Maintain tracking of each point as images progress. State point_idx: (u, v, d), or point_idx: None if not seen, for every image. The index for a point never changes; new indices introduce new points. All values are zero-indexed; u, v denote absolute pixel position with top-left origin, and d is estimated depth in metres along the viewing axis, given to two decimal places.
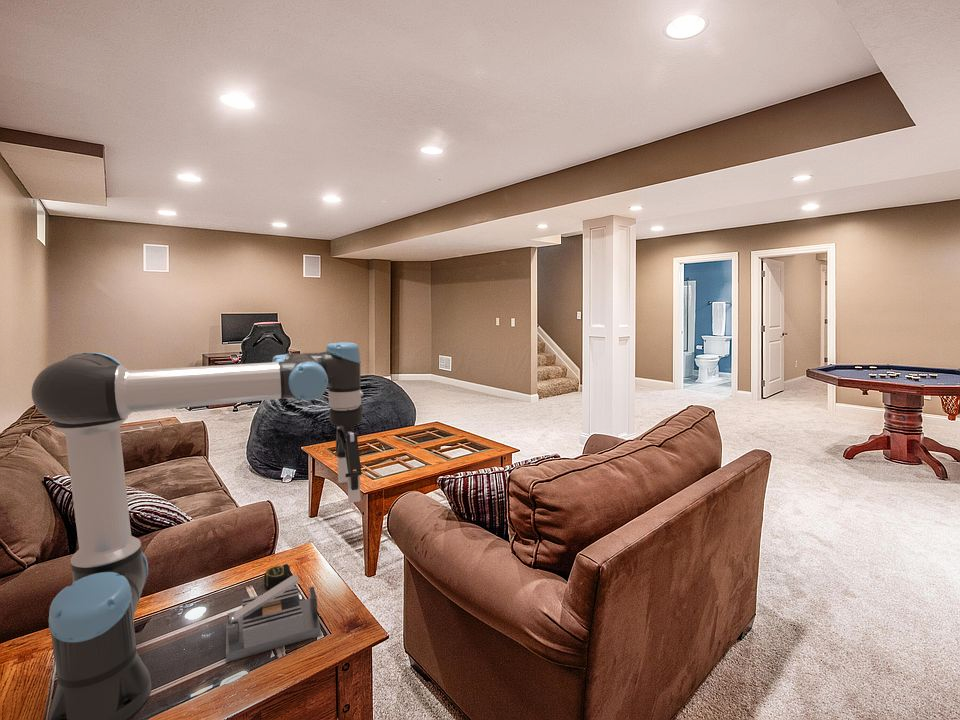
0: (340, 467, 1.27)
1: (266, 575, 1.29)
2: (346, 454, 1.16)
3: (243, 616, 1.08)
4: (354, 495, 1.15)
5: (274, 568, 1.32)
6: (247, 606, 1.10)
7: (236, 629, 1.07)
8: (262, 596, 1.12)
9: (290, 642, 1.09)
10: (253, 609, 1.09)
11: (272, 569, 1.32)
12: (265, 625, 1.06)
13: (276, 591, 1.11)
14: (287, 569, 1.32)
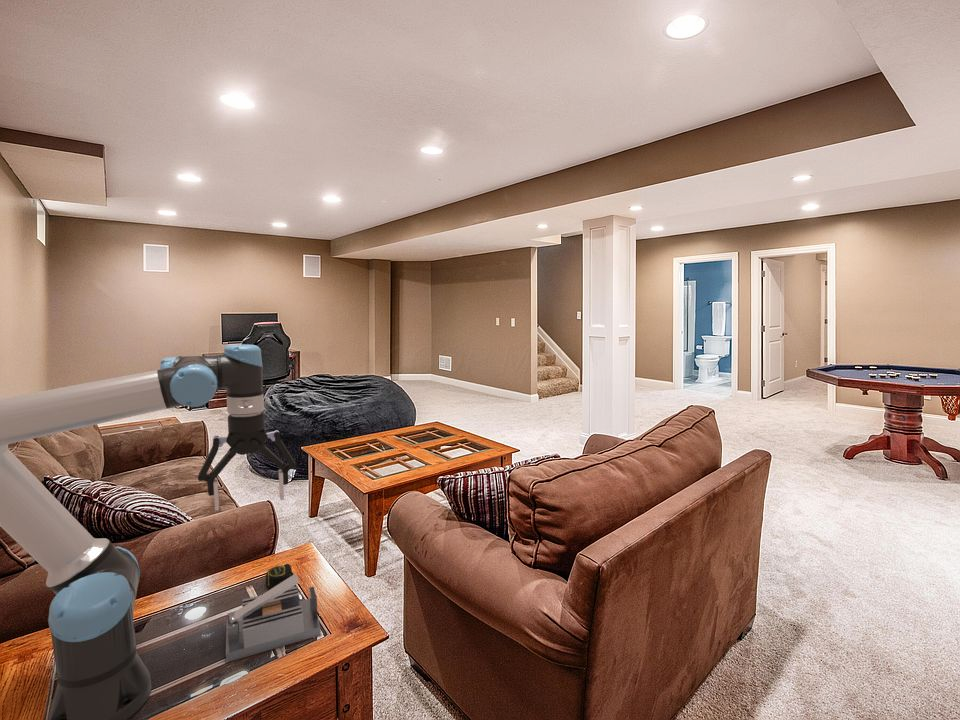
0: None
1: (267, 575, 1.29)
2: (222, 458, 1.12)
3: (243, 616, 1.08)
4: None
5: (275, 568, 1.33)
6: (247, 606, 1.10)
7: (236, 629, 1.07)
8: (262, 596, 1.12)
9: (290, 642, 1.09)
10: (253, 609, 1.09)
11: (273, 569, 1.32)
12: (265, 625, 1.06)
13: (276, 591, 1.11)
14: (288, 569, 1.32)
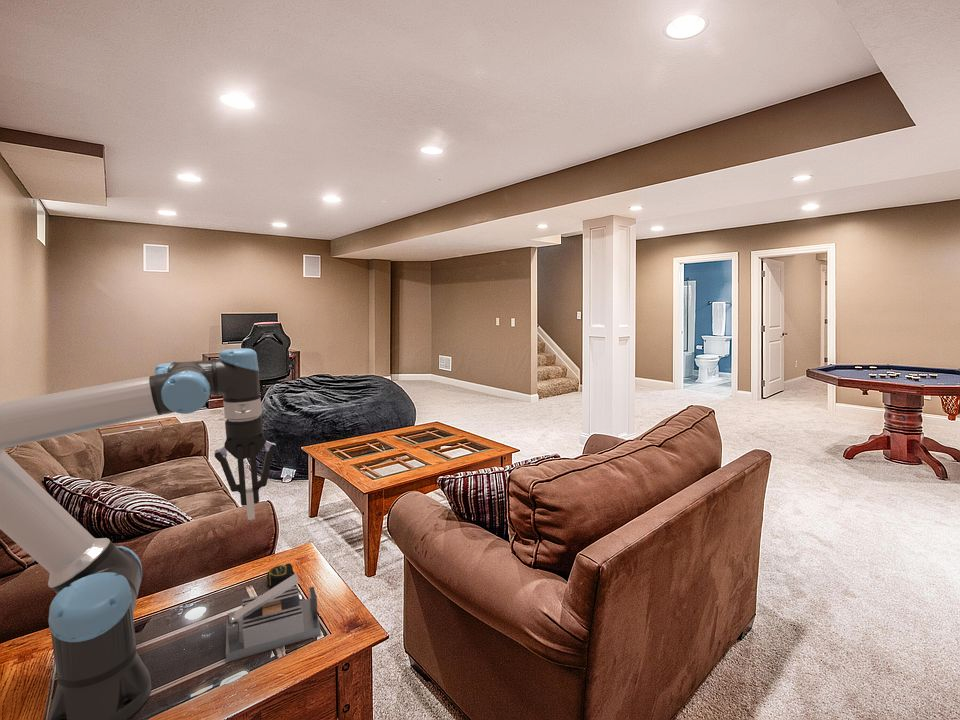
0: None
1: (269, 574, 1.30)
2: None
3: (243, 616, 1.08)
4: None
5: (277, 567, 1.33)
6: (247, 606, 1.10)
7: (236, 629, 1.07)
8: (262, 596, 1.12)
9: (290, 642, 1.09)
10: (253, 609, 1.09)
11: (275, 568, 1.32)
12: (265, 625, 1.06)
13: (276, 591, 1.11)
14: (290, 568, 1.32)
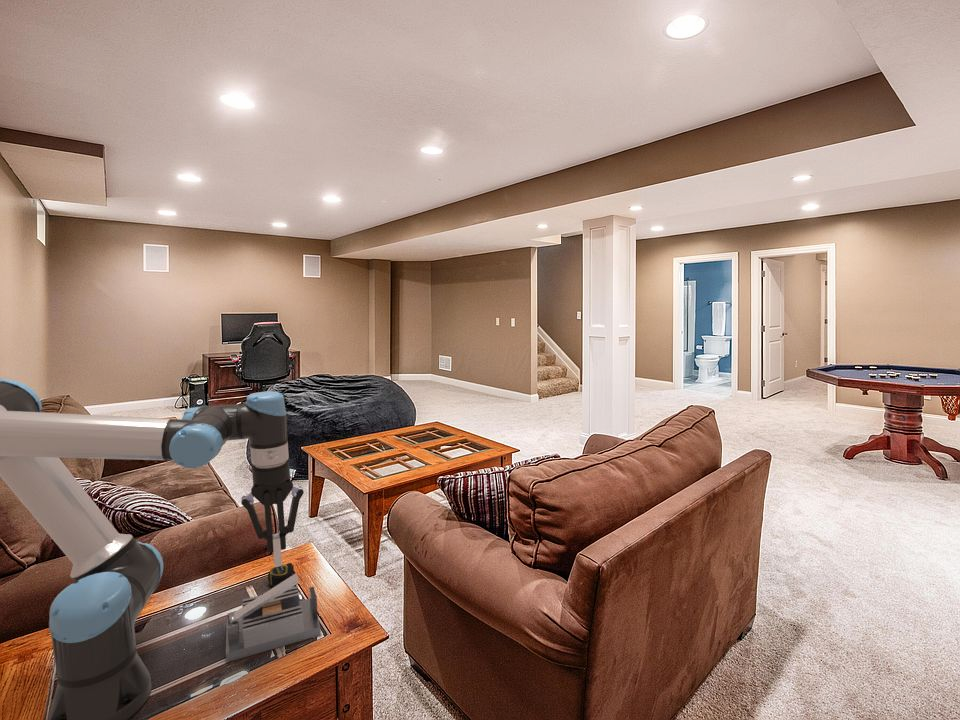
0: None
1: (270, 574, 1.30)
2: None
3: (243, 616, 1.08)
4: None
5: (278, 567, 1.33)
6: (247, 606, 1.10)
7: (236, 629, 1.07)
8: (262, 596, 1.12)
9: (290, 642, 1.09)
10: (253, 609, 1.09)
11: (276, 568, 1.33)
12: (265, 625, 1.06)
13: (276, 591, 1.11)
14: (291, 568, 1.33)
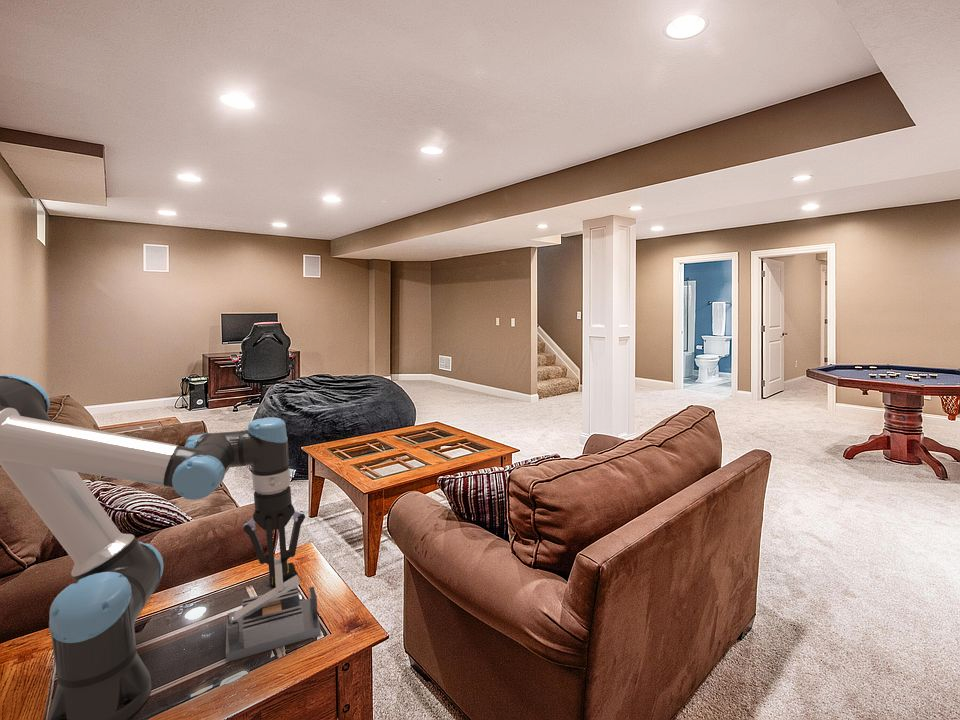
0: None
1: None
2: None
3: (243, 616, 1.08)
4: (275, 581, 1.12)
5: None
6: (247, 606, 1.10)
7: (236, 629, 1.07)
8: (263, 597, 1.12)
9: (290, 642, 1.09)
10: (253, 610, 1.09)
11: None
12: (265, 625, 1.06)
13: (277, 592, 1.11)
14: (292, 567, 1.33)
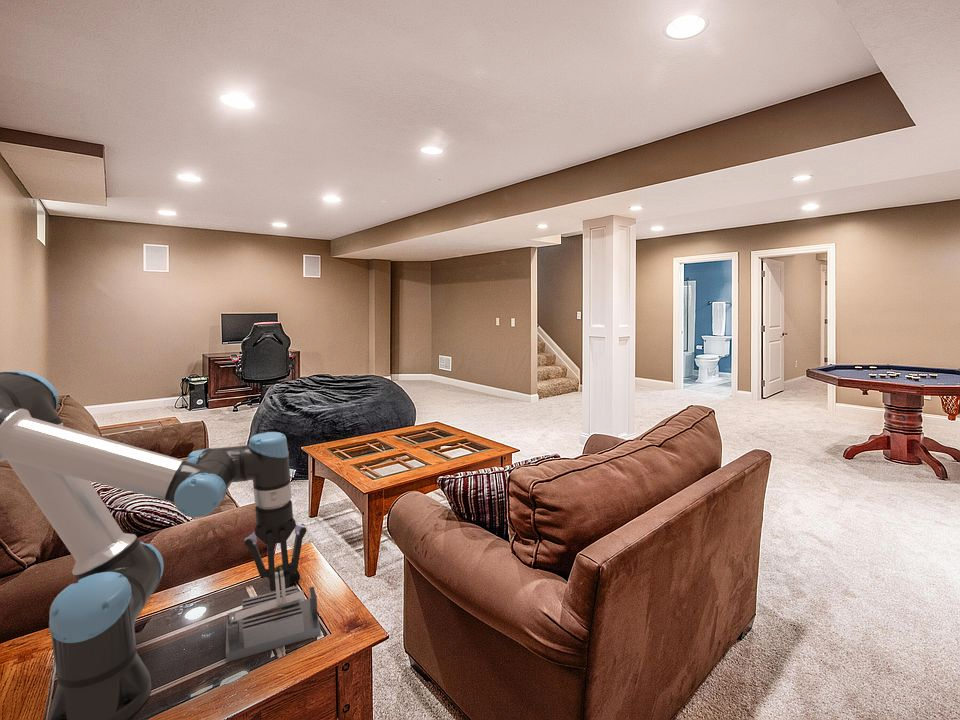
0: None
1: None
2: None
3: (244, 619, 1.08)
4: None
5: (281, 566, 1.34)
6: (249, 610, 1.11)
7: (236, 629, 1.07)
8: (266, 604, 1.12)
9: (290, 642, 1.09)
10: (255, 615, 1.09)
11: (279, 567, 1.33)
12: (265, 625, 1.06)
13: (281, 603, 1.12)
14: None
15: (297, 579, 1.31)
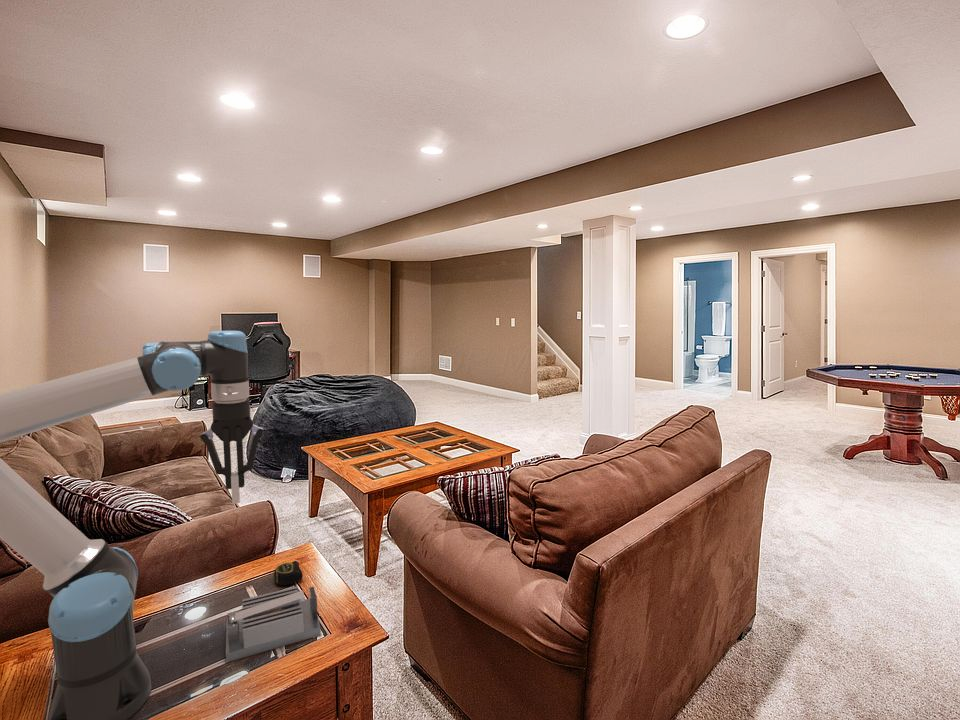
0: None
1: (276, 572, 1.31)
2: None
3: (244, 619, 1.08)
4: None
5: (284, 565, 1.34)
6: (249, 610, 1.11)
7: (236, 629, 1.07)
8: (266, 604, 1.12)
9: (290, 642, 1.09)
10: (255, 615, 1.09)
11: (282, 566, 1.34)
12: (265, 625, 1.06)
13: (281, 603, 1.12)
14: (296, 566, 1.34)
15: (300, 578, 1.31)
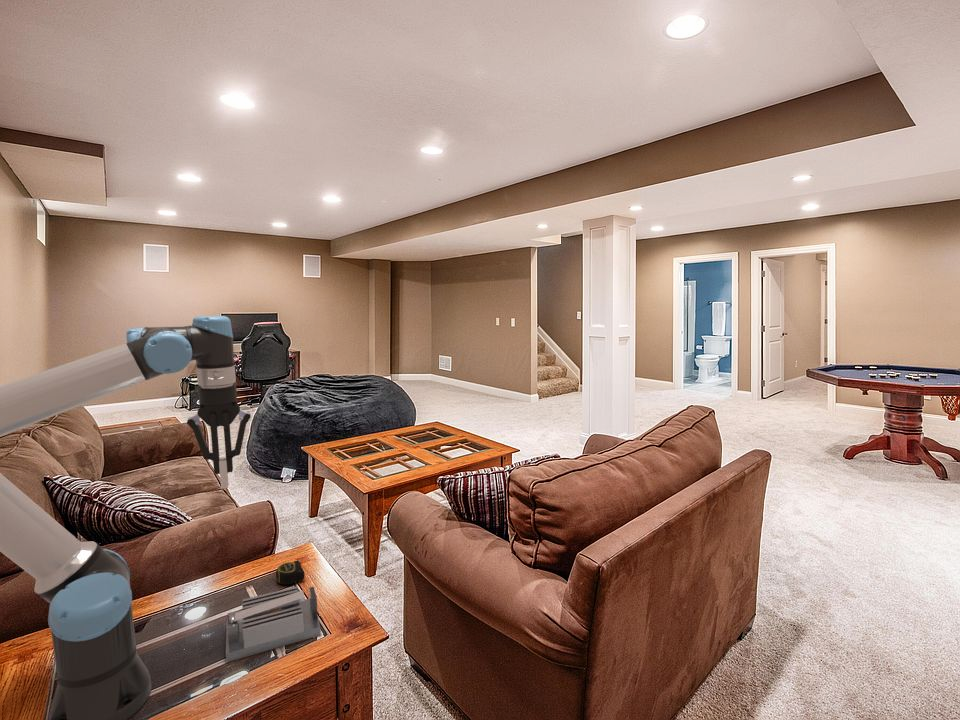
0: None
1: (278, 571, 1.31)
2: None
3: (244, 619, 1.08)
4: None
5: (285, 564, 1.34)
6: (249, 610, 1.11)
7: (236, 629, 1.07)
8: (266, 604, 1.12)
9: (290, 642, 1.09)
10: (255, 615, 1.09)
11: (284, 565, 1.34)
12: (265, 625, 1.06)
13: (281, 603, 1.12)
14: (298, 565, 1.34)
15: (302, 577, 1.32)
